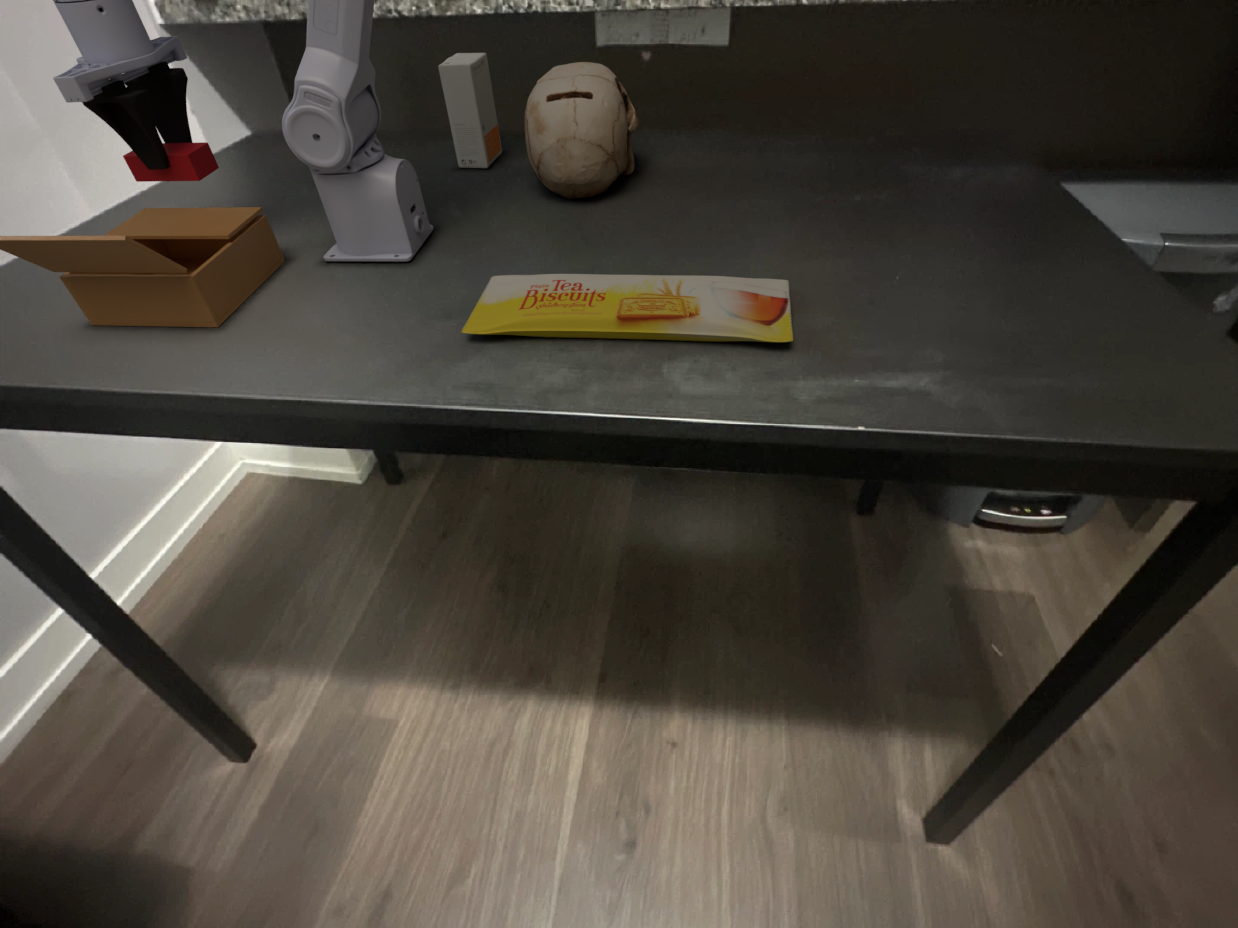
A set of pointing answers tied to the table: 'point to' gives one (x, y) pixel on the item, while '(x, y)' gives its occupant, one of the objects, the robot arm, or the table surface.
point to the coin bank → (579, 129)
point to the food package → (635, 307)
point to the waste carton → (196, 239)
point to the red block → (176, 163)
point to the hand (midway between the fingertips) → (172, 160)
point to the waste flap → (89, 254)
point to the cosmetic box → (471, 109)
